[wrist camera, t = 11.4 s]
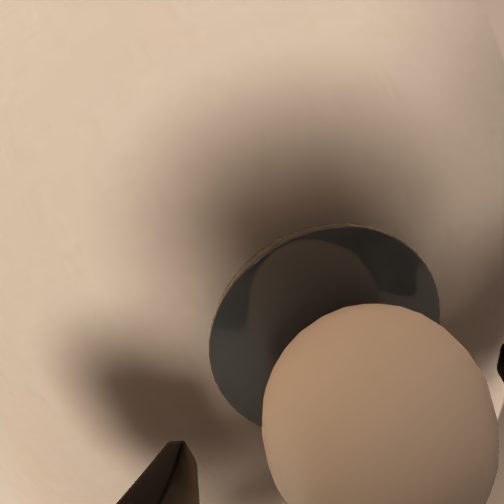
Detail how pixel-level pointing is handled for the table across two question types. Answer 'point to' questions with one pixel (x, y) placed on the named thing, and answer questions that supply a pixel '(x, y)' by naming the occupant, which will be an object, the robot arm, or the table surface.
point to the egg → (379, 413)
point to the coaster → (306, 299)
